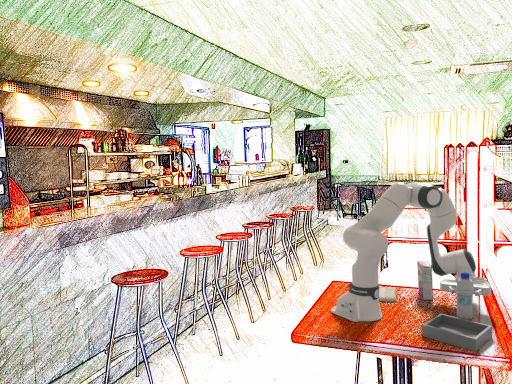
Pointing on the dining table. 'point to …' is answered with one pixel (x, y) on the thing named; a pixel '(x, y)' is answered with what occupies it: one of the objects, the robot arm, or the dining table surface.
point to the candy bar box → (425, 280)
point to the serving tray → (457, 331)
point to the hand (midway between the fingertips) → (464, 292)
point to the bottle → (465, 297)
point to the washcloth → (387, 294)
